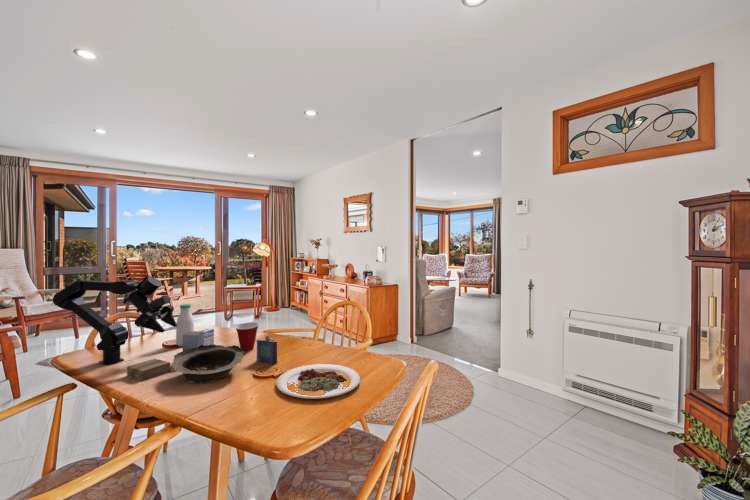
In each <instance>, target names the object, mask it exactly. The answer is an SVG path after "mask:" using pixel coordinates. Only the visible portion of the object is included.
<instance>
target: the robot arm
mask: <svg viewBox="0 0 750 500" xmlns="http://www.w3.org/2000/svg"><path fill="white" fill-rule="evenodd" d="M161 286H162V282H161V281H160V280H159V279H157V278H155V277H152V276H151V275H146V276H145V277H143V279H142V280H141V281H139V282H137V281H136V280H134V279H127V280H118V281H117V280H116V281H108V280H90V279H77V280H75V281H74V282H72V283H71V284H70V285H68V286H66V287H64V288H62V289H61V290H60V291H58V292H56V293H55V294H54V295H53V297H52V303H53V304H54V305H55V306H56V307H58V308H61V310H66V311H68V312H69V311H70V312H72V313H73V314H75V315H76V316H77V317H78V318H80V319H81V320H82V321H84V322H85V323H86V324H88V325H89V326H90V327H92V328H93V329H94V330H95V331H96V332H98V333H99V338H100V341H99V343H97V344H96V348H97V351H102V360H99V361H98V363H99V364H102V365H105V366H106V365H107V366H108V365H112V364H115V363H119V362H124V361H125V359H124V358H121V346H123V345H125V344H126V342H127V340H128V338H129V331H128V329H127V327H125V326H124V325H123V324H122V323H120V322H117V323H114V324H113V323H111V322H109V321H108V320H107V319H106V318H104V317H103V316H102V315H100V314H99V313H98V312H97V311H95V310H94V309H93V308H91V307H90V306H89V305H87V304H86V302H85V299H84V295H85V294H86V293H87V291H98V292H99V291H101V292H109V293H112V294H115V295H119V296H123V295H127V294H128V295H127V296H124V297H123V302H122V303H123V304H124V305H125V304H126V305H127V304H129V303H130V304H131V305H132V306H134V307H135V308H136V310H135V312H137V313H141V314H140V315H139V316H138V317H136V318H135V320H134V325H135V327H136V326H137V327H138V328H144V329H149V330H153V331H156V332H159V333H164V332H165V329H164V328H163V327H162V325H161V324H160V323H159V322H158V321H157V318H158V319H159V320H160V321H161V322H164V323H166V324H168V325H169V326H172V327H174V328H176V326H177V321H176V320H175V317H174V315H173V312H174V311H175V310H174V309H175V307H174V306H173V305H172V304H170V303H172V302H171V300H172V297H171V296H170V295H168V294H163V295H161V297H159V298H157V299H154V298H153V299H150V297H148V296H152V295H154V294H155V293H156V291H157V290H158V289H159V288H160V287H161ZM167 304H168V305H167ZM164 305H165V306H164Z"/></svg>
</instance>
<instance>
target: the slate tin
mask: <svg viewBox="0 0 750 500" xmlns="http://www.w3.org/2000/svg"><path fill="white" fill-rule="evenodd" d="M201 345H204V331H202V330H199V331H197V330H194V331H190V332H188V333H186V334H184V335H183V346H182V352H183V351H186V350H191V349H194V348H198V347H199V346H201Z"/></svg>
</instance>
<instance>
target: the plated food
mask: <svg viewBox="0 0 750 500" xmlns="http://www.w3.org/2000/svg"><path fill="white" fill-rule="evenodd" d="M321 370H325V371H328V372H322V373H320V372H319V371H321ZM317 371H318V372H317ZM334 371H336V372H341V373H343V374H345V375H347V376H348V377H349V378H350V379H351V383H350V385H349V387H347V388H346V387H343V384H341V383H342V382H344V381H347V380H348V379H345V378H344V377H343V375H337V373H336V372H334ZM298 380H300V381H301V382H299V381H298ZM360 381H361V378H360V374H359V373H358V372H357V371H356V370H355V369H352V368H350V367H347V366H343V365H340V364H332V363H329V364H328V363H317V364H308V365H303V366H298V367H294V368H292V369H289V370H287V371H285V372H284V373H282V374H280V376H279V377H278V378H277V380H276V387H277V389H278V390H279V391H280V392H281V393H283V394H285V395H288V396H290V397H295V398H300V399H312V400H313V399H315V400H316V399H328V398H333V397H336V396H341V395H344V394H346V393H349V392H351V391H352V390H354V389H355V388H356V387H358V386H359V384H360ZM287 382H288V383H290V384H293V383H292V382H294V383H295V384H294V385H295V387H298V388H299V389H301V390H302V391H310V392H311V391H312V392H313V391H314V392H316V391H318V390H323V391H324V393H325V395H322V396H307V395H300V394H297V393H296V392H298V391H296V392H295V393H294V392H291V391H290V390H288V388H287ZM298 382H299V384H298ZM339 382H340V383H339ZM290 384H289V385H290ZM296 384H298V385H297V386H296ZM340 386H341V387H340ZM346 386H347V385H346ZM342 387H343V388H344V389H342ZM339 388H340V389H339ZM345 388H346V389H345ZM295 390H296V389H295ZM297 390H298V389H297Z"/></svg>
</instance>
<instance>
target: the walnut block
mask: <svg viewBox="0 0 750 500" xmlns="http://www.w3.org/2000/svg"><path fill="white" fill-rule="evenodd" d="M167 373H168V374H169V373H171V362H170V361H166V360H162V359H158V358H153V359H152V358H151V359H148V360H145V361H142V362H138V363H134V364H131V365H127V366H126V377H128V378H132V379H135V380H138V381H141V382H144V381H147V380H150V379H153V378H156V377H159V376H161V375H165V374H167Z"/></svg>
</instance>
